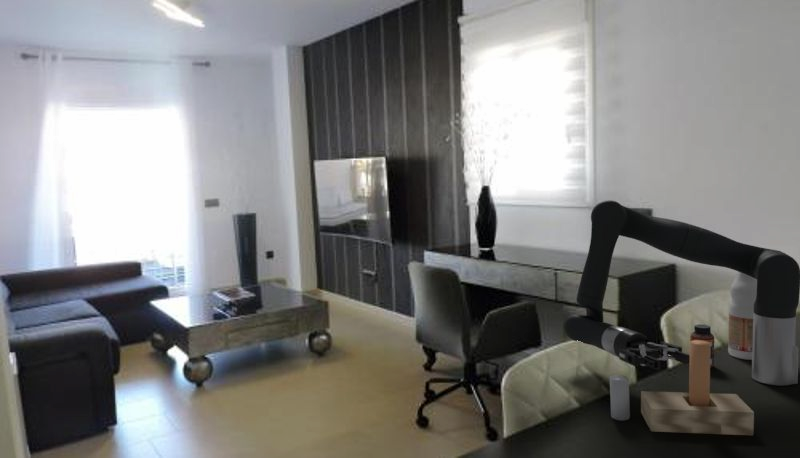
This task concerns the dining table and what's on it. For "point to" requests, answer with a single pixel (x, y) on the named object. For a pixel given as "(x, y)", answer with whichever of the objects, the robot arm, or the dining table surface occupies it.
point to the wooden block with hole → (696, 414)
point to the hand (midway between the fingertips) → (674, 362)
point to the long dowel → (699, 373)
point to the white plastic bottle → (741, 316)
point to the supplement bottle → (704, 338)
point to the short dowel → (619, 397)
